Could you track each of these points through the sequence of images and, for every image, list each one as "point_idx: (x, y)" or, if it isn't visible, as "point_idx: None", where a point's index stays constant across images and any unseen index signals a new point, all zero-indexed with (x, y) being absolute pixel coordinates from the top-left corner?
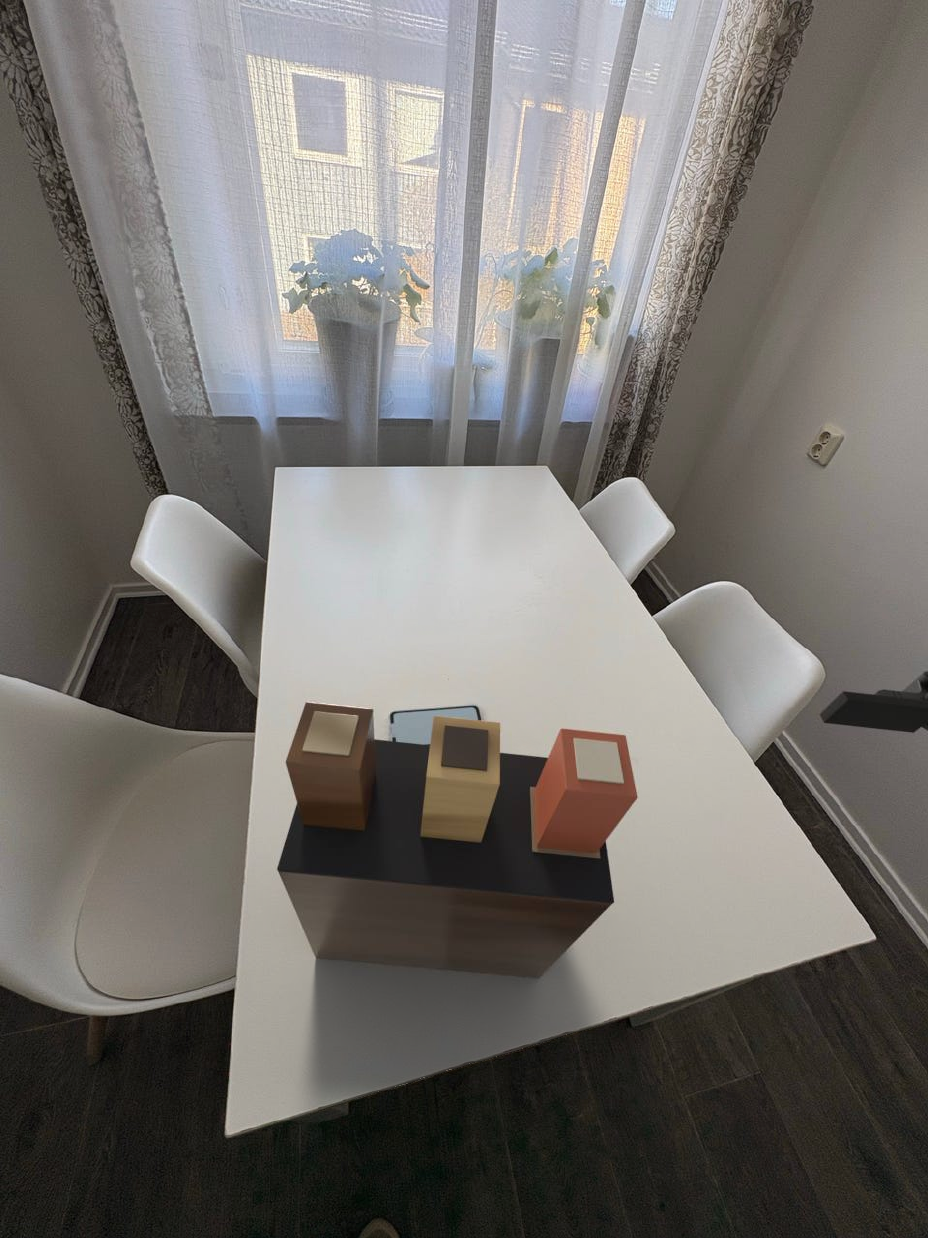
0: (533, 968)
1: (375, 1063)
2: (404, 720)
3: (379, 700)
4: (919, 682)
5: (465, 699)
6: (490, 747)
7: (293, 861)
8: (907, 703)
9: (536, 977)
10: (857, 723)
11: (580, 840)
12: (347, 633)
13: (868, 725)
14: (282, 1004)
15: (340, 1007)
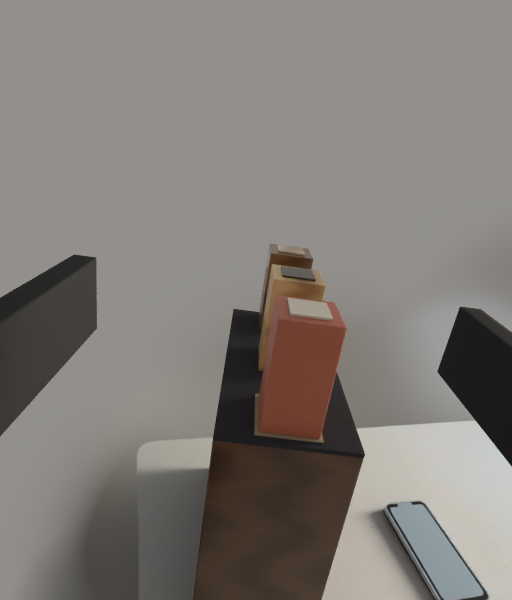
0: None
1: (147, 505)
2: (420, 514)
3: (432, 497)
4: None
5: (491, 587)
6: (302, 280)
7: (238, 312)
8: None
9: None
10: (468, 396)
11: (262, 395)
12: (487, 468)
13: (480, 416)
14: (188, 454)
15: (183, 483)
